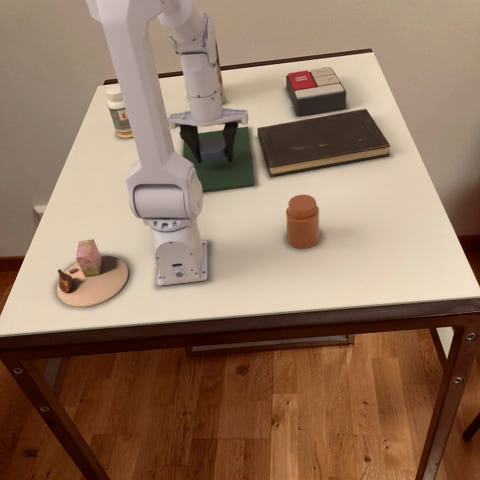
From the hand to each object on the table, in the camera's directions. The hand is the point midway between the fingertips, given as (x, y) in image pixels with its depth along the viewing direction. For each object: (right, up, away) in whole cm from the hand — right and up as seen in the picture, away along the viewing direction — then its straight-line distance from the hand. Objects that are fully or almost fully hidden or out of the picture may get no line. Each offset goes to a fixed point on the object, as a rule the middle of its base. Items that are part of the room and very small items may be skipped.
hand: (215, 159), depth 99 cm
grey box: (+22, +19, +17) cm, 34 cm away
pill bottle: (-20, +12, +17) cm, 29 cm away
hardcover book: (+21, +4, +3) cm, 22 cm away
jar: (+15, -18, -15) cm, 28 cm away
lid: (0, +2, -2) cm, 3 cm away
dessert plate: (-19, -25, -16) cm, 35 cm away
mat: (0, +1, +5) cm, 5 cm away
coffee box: (-3, +22, +24) cm, 32 cm away
